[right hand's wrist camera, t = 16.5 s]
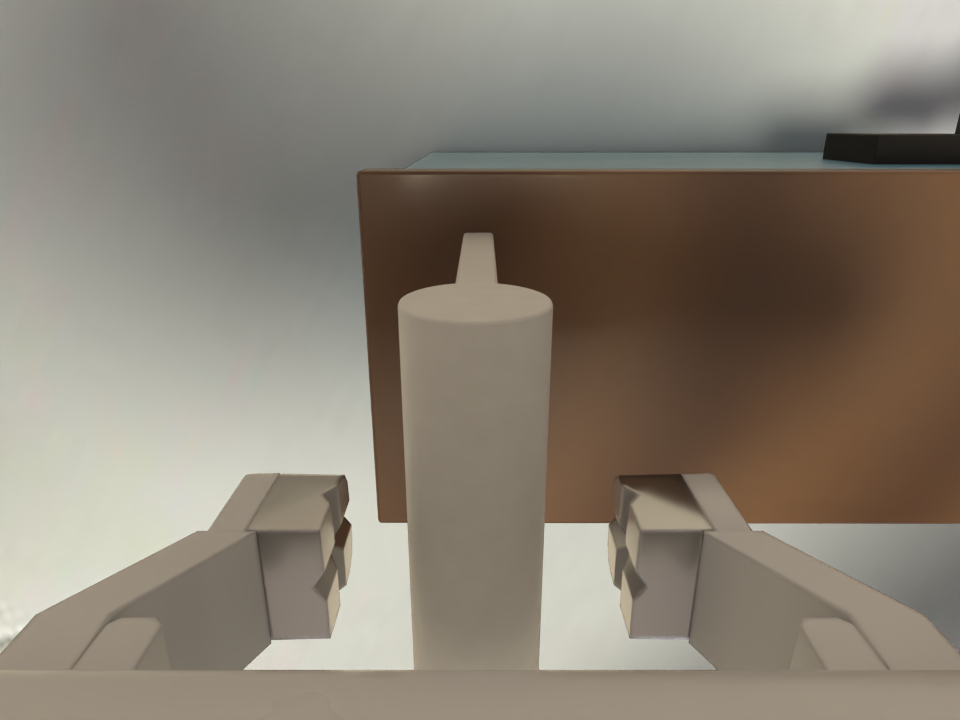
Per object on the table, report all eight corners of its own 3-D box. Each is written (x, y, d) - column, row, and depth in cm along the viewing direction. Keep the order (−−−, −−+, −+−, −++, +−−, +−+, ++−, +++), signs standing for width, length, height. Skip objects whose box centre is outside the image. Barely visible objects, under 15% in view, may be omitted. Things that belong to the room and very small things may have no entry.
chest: (436, 385, 28) (415, 506, 19) (430, 152, 24) (401, 168, 16) (805, 385, 28) (953, 506, 19) (848, 151, 24) (1051, 168, 16)
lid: (382, 506, 19) (306, 800, 11) (361, 168, 16) (230, 217, 7) (954, 507, 19) (1316, 802, 11) (1053, 168, 16) (1681, 218, 7)
